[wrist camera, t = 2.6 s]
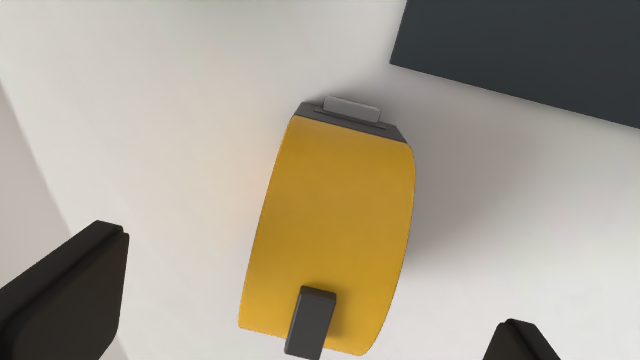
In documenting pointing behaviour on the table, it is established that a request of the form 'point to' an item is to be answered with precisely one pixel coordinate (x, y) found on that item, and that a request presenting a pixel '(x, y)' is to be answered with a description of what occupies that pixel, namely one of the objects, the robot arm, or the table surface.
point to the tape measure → (330, 231)
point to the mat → (532, 50)
